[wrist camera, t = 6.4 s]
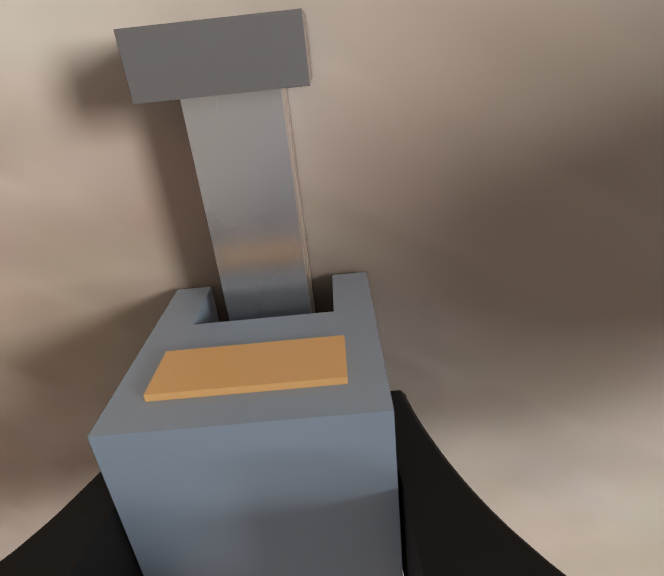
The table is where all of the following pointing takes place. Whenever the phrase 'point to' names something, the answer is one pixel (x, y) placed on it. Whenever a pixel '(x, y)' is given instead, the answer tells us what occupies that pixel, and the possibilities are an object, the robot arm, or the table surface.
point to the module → (257, 443)
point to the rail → (237, 144)
